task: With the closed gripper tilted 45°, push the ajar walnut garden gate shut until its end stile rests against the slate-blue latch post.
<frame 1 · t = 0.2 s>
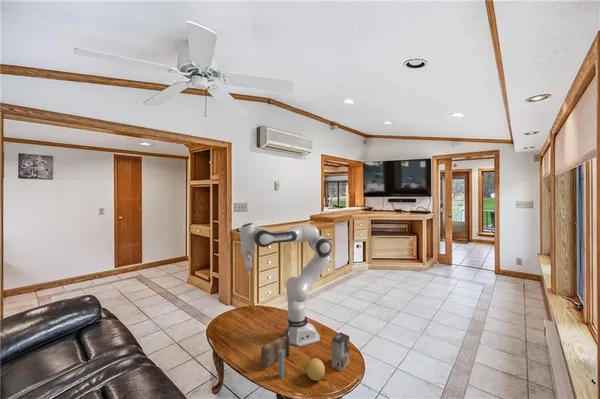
hand: (248, 271, 171), 48 cm above the table, tool pointing down, fingers open, 8 cm apart
gate: (274, 351, 156), point 7 cm above the table, hinge at -30.0°
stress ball: (315, 378, 144), on the table
coffee box: (340, 365, 155), on the table
hinge post: (287, 355, 163), on the table
latch post: (281, 376, 145), on the table
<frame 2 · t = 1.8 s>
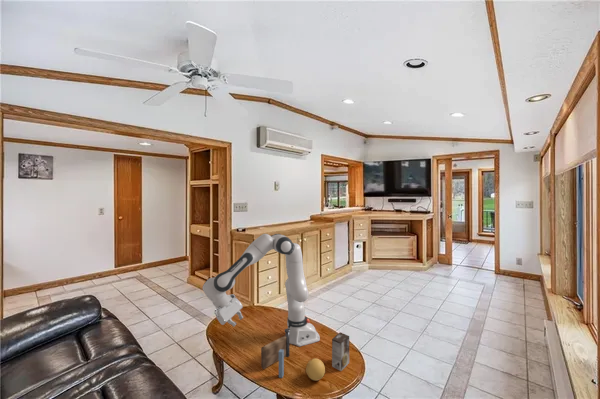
hand: (238, 322, 156), 24 cm above the table, tool tilted 45°, fingers open, 6 cm apart
nothing on the table moved.
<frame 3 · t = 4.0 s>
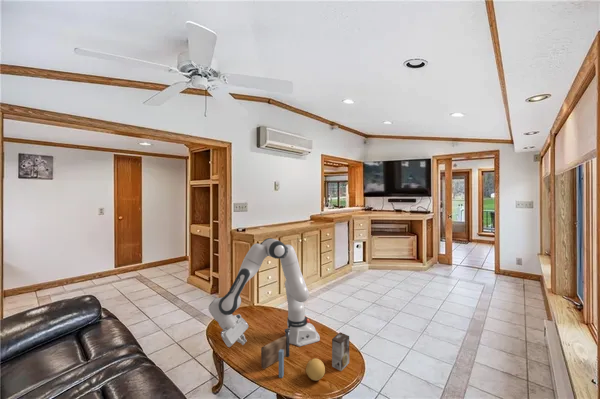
hand: (244, 343, 156), 12 cm above the table, tool tilted 45°, fingers closed
nothing on the table moved.
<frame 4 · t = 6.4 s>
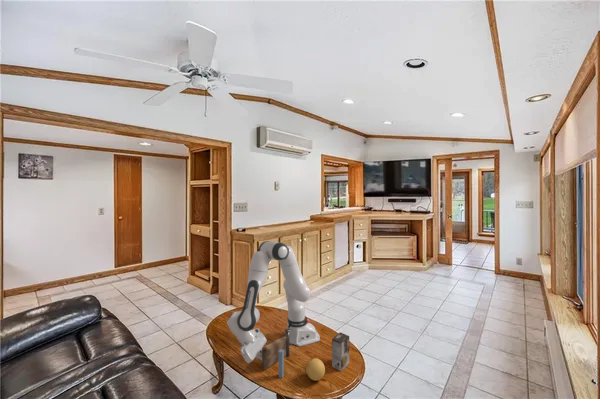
hand: (263, 358, 153), 5 cm above the table, tool tilted 45°, fingers closed
gate: (274, 352, 155), point 7 cm above the table, hinge at -27.5°, touching gripper
everything else where it was.
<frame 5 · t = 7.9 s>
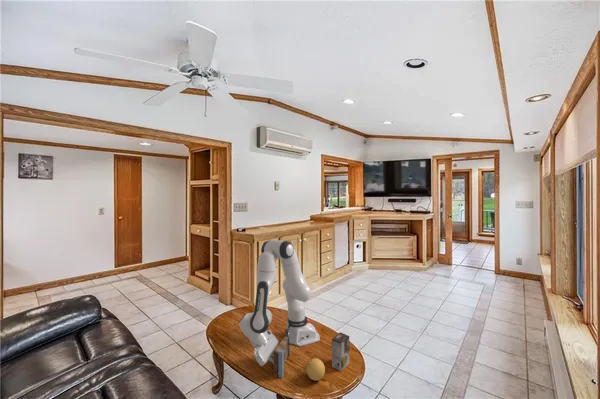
hand: (276, 361, 150), 5 cm above the table, tool tilted 45°, fingers closed on gate
gate: (281, 354, 153), point 7 cm above the table, hinge at -1.8°, touching gripper
everything else where it was.
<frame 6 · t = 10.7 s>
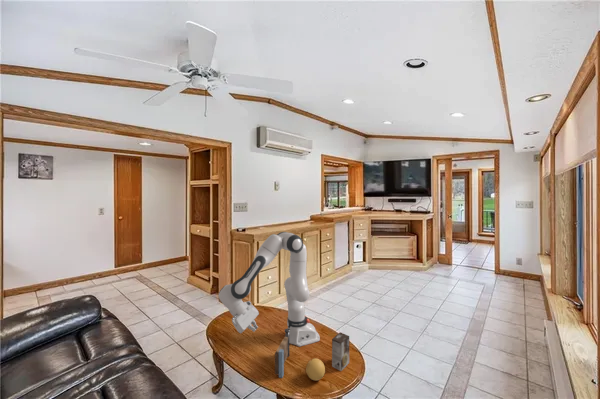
hand: (256, 329, 153), 21 cm above the table, tool tilted 45°, fingers closed
gate: (281, 354, 153), point 7 cm above the table, hinge at 0.2°
everything else where it was.
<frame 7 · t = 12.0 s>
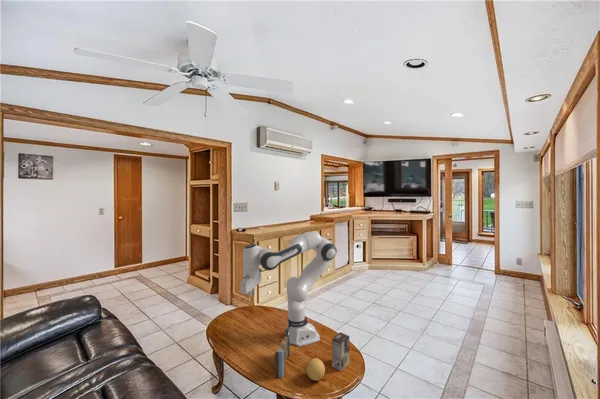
hand: (251, 295, 160), 37 cm above the table, tool pointing down, fingers closed
nothing on the table moved.
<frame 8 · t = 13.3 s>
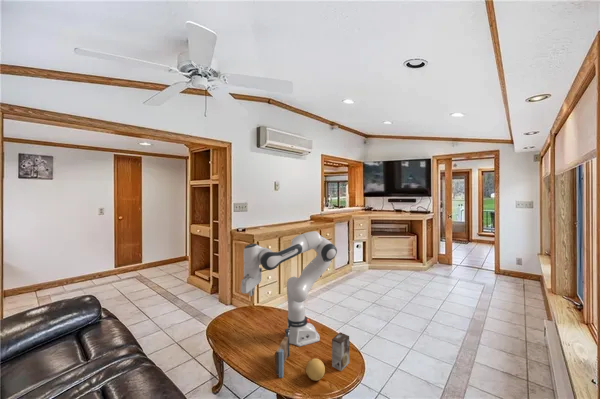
hand: (251, 295, 160), 37 cm above the table, tool pointing down, fingers closed
nothing on the table moved.
at the end: gate at +0° (first picture: -30°) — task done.
